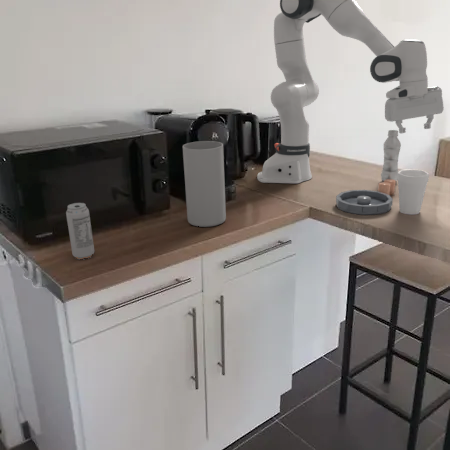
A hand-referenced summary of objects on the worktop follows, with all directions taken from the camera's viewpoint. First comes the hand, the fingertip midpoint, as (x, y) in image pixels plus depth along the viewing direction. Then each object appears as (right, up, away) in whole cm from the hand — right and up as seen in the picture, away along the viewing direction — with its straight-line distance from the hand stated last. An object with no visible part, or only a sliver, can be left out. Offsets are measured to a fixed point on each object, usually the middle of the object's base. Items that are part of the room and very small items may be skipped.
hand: (414, 130), depth 175 cm
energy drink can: (-105, -41, -31) cm, 117 cm away
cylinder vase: (-71, -31, -9) cm, 78 cm away
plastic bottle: (-1, -16, +25) cm, 29 cm away
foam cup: (-5, -28, -7) cm, 29 cm away
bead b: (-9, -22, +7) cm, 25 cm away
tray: (-18, -26, -1) cm, 31 cm away
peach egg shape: (-5, -21, +11) cm, 24 cm away
